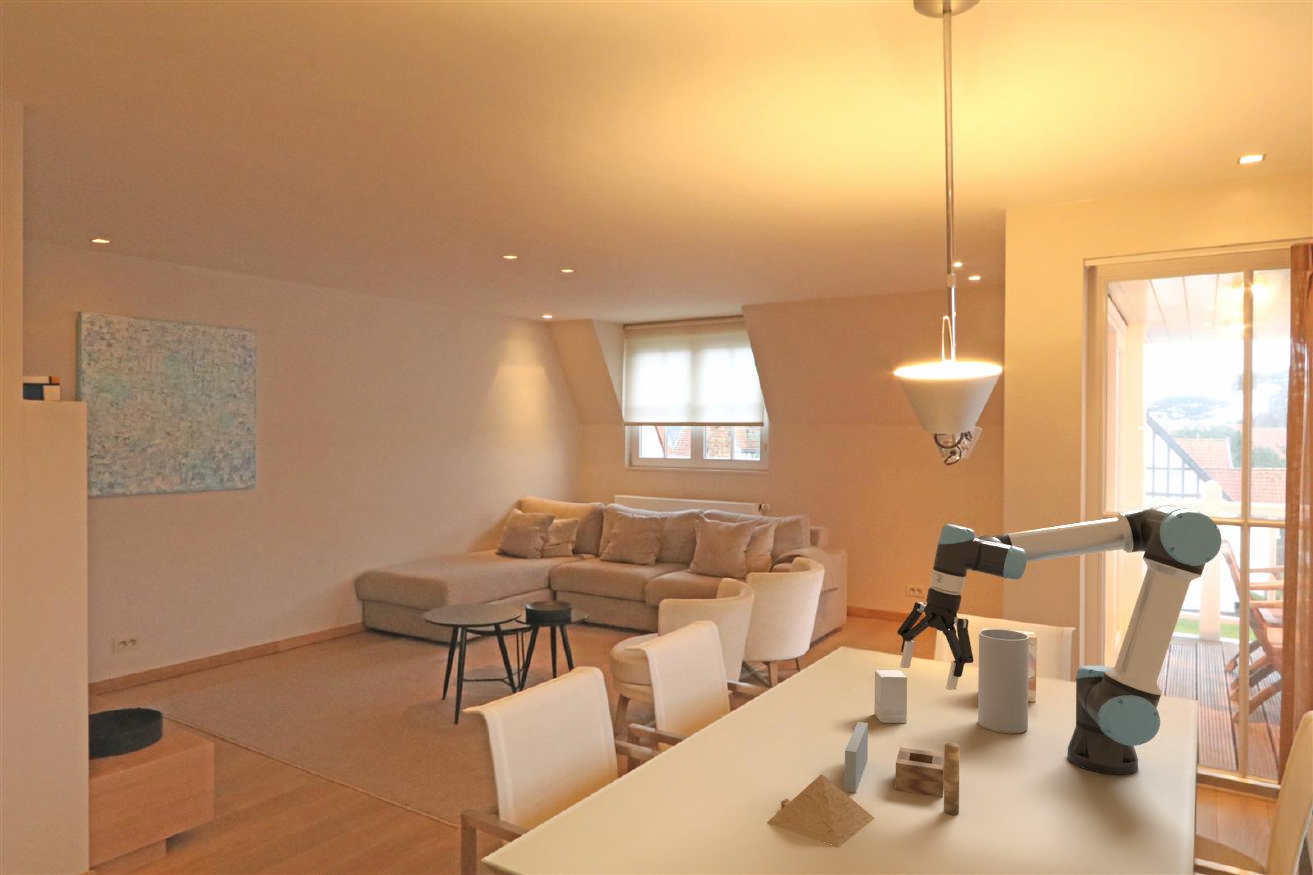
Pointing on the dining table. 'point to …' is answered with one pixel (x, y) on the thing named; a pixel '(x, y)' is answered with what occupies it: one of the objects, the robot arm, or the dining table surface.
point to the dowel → (951, 778)
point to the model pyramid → (822, 813)
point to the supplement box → (890, 696)
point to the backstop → (856, 757)
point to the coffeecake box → (1031, 665)
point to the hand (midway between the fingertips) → (927, 678)
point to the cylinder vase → (1003, 680)
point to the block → (920, 771)
